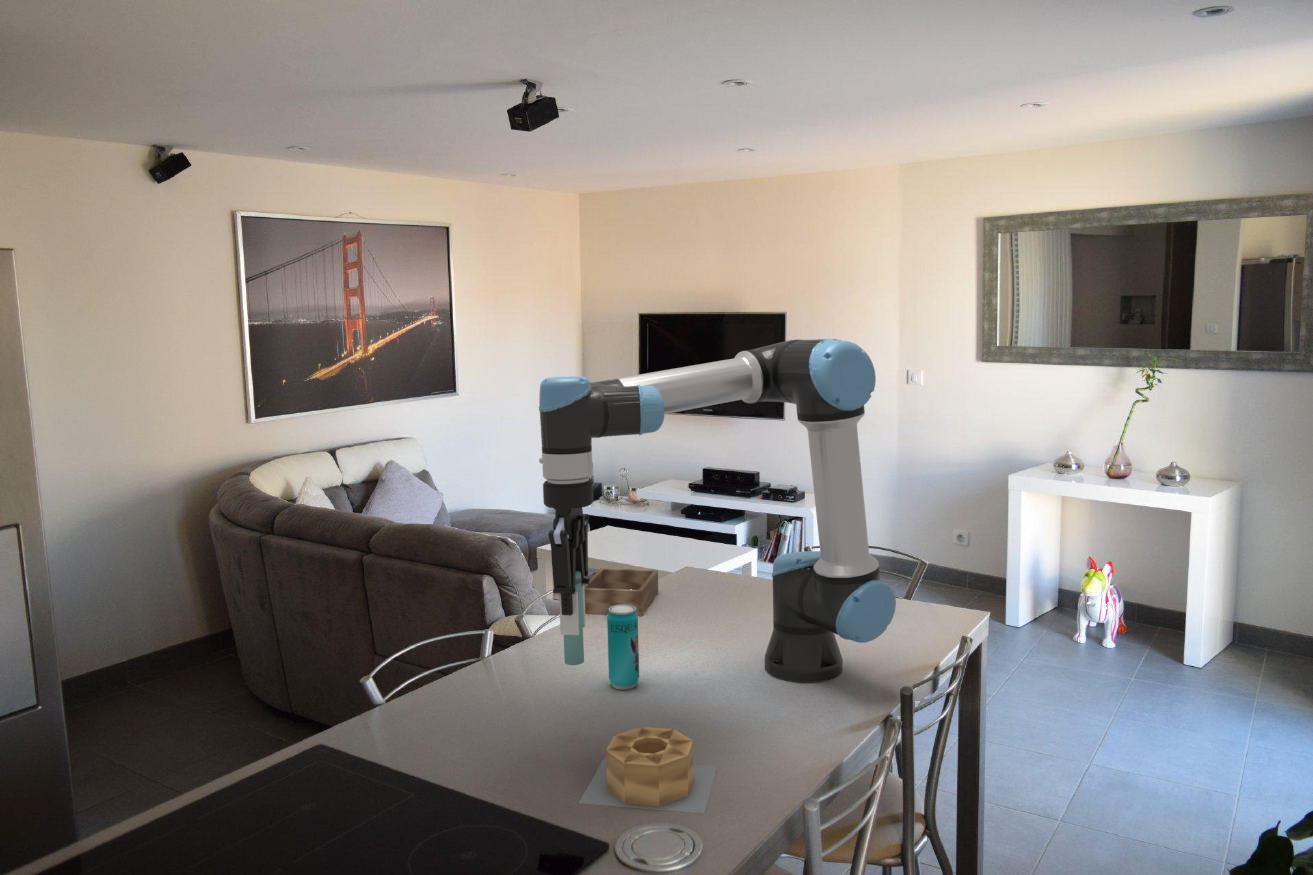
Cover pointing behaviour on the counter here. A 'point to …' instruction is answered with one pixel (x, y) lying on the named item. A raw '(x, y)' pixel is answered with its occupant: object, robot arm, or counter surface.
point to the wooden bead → (650, 766)
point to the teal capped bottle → (575, 642)
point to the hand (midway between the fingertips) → (573, 629)
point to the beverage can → (623, 646)
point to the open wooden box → (620, 590)
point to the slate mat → (688, 804)
